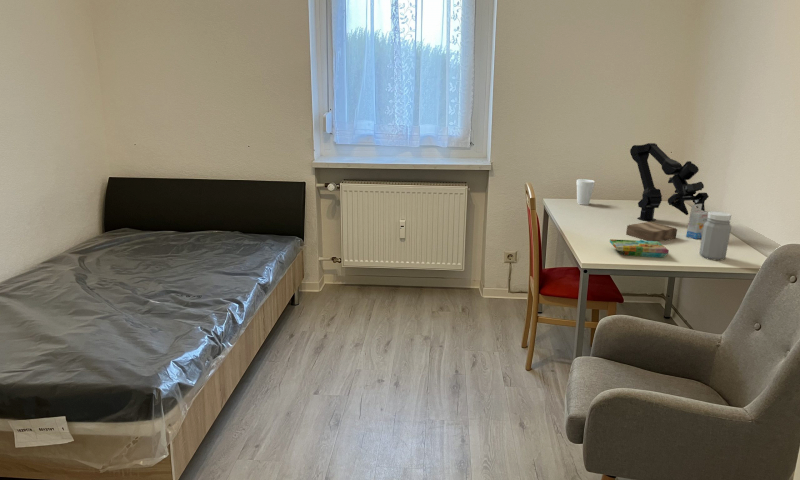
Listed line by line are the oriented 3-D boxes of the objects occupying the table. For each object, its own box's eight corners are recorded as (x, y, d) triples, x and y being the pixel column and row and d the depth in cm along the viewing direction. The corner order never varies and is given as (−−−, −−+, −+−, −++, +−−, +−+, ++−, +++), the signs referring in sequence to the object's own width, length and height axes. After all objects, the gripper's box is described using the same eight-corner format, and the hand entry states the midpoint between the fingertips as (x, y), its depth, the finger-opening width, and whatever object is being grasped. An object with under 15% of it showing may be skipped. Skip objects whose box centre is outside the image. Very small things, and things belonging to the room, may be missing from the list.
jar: (696, 252, 251) (704, 209, 246) (722, 255, 248) (730, 212, 243) (700, 259, 242) (708, 215, 237) (727, 262, 239) (736, 217, 234)
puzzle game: (669, 247, 240) (617, 245, 241) (667, 259, 241) (615, 256, 243) (659, 240, 251) (610, 237, 253) (658, 250, 252) (608, 248, 254)
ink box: (696, 239, 271) (701, 207, 267) (685, 236, 275) (691, 204, 271) (706, 237, 276) (712, 205, 272) (696, 234, 280) (701, 203, 276)
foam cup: (571, 203, 336) (574, 180, 333) (577, 201, 343) (580, 178, 340) (588, 206, 331) (591, 182, 327) (594, 203, 338) (597, 180, 335)
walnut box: (649, 231, 283) (650, 221, 282) (675, 239, 272) (677, 228, 271) (625, 235, 275) (627, 224, 274) (652, 243, 264) (653, 232, 263)
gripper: (676, 176, 273) (690, 205, 265) (709, 175, 278) (724, 203, 271) (661, 190, 282) (674, 218, 275) (693, 189, 288) (707, 217, 281)
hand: (695, 214), depth 275 cm, fingers open, 9 cm apart
